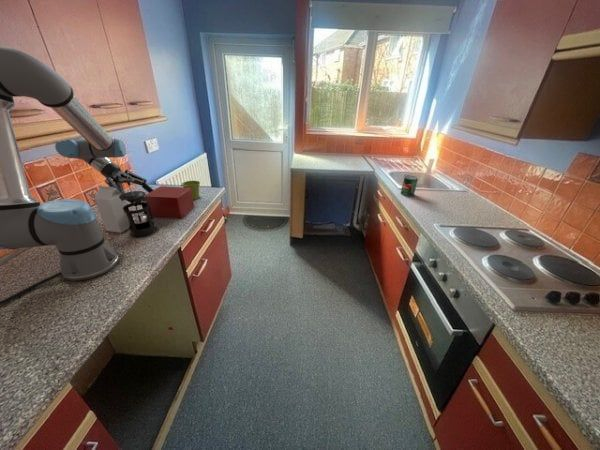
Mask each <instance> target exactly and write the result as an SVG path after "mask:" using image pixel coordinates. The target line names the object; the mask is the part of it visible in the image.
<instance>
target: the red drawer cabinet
mask: <svg viewBox="0 0 600 450" xmlns="http://www.w3.org/2000/svg"><path fill="white" fill-rule="evenodd" d="M156 188H157V189H156ZM156 188H155V189H153V191H152V192H150V193H148V192H147V193H148V194H147V193H146V194H147V195H145V198H146V199H145V201H148V203H149V207H150V210H151V214H152V218H164V219H179V220H180V219H181V220H182V219H183V218H184V217H185V216H187V214H188V213H190V212H191V211H192V210H193V209H194V208H195V204H194V200H193V197H192V192H191V188H185V187H183V186H165V185H161V186H158V187H156Z"/></svg>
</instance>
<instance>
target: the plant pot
mask: <svg viewBox="0 0 600 450" xmlns="http://www.w3.org/2000/svg"><path fill="white" fill-rule="evenodd" d="M200 184H201V181H200V180H187V181H186V180H185V181H183V182H182V183H181V186H182V187H185V188H191V192H192V197H193V201H194V200H197V199H199V198H200V186H201V185H200Z"/></svg>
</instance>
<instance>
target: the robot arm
mask: <svg viewBox="0 0 600 450" xmlns="http://www.w3.org/2000/svg"><path fill="white" fill-rule="evenodd" d="M14 97H19V98H21V97H26V98H31V99H34V100H36V101H38V102H39V103H40V104H41V105H42V106H45V107H46V108H50V109H52V110H53V112H55V113H56V115H58V116H59V117H60V118H61V119H62V120H64V121H65V122H66V123H67V124H68V126H70V127H71V128H72V129H73V130H74V131H76V133H77V134H79V135H80V137H81V138H78V137H75V138H76V139H74V138H70V140H66V141H61V142H57V141H56V142H55V145H54V147H55V151H56V152H57V153H58V155H60V156H61V157H63V158H67V159H76V160H83V162H85V163H86V164H87V165H89V166H90V167H92V168H93V169H95V170H96V171H97V172H99V173H100V175H102V176H103V177H104V178H105V180H104V183H105V184H106V185H108V187H114V188H115V189H116V191H118V192H121V193H123V194H124V193H126V192H125V189H124V185H123V184H124V183H122V181H123V180H126V179H134V181H133V182H130V184H131V183H132V184H135V185H138V186H140V187H141V188H142V189H144V190H145V192H147V193H150V192H151V191H153V190H154V189H153V188H152V187H151V186H150V185H149V184H147V181H148V180H147V179H146V178H144V177H142V176H140V175H138V174H136V173H133V172H132V171H131V170H128V169H125V171H123V170H122V169H121V167H120V166H119V165H118V164H117V163H115V162H114V161H113V160H112V159H116V158H124V157H125V156H126V155H127V147H126V145H125V143H124V140H122V139H120V138H112V136H111V135H109V133H108V132H107V131H106V130H105V129H104V128H103V127H102V125H101V124H100V123H99V122H98V121H97V119H95V118H94V116H93V115H92V114H91V113H90V112H89V111H88V109H86V107H85V106H84V105H83V104H82V103H81V102H80V100H79V99H78V98H77V97H76V96H75V91H74V89H73V87H72V86H71V85H70V84H69V82H68V81H66V79H64V78H63V77H62V76H61V74H59V73H58V72H57V71H55V70H54V69H53V68H51V67H50V66H49V65H47V64H45V63H44V62H43V61H41V60H39V59H38V58H36V57H34V56H33V55H30V54H28V53H26V52H24V51H22V50H19V49H16V48H13V47H9V46H3V45H0V250H18V249H19V250H20V249H25V248H37V247H48V246H55V247H56V249H57V251H58V253H59V257H60V260H59V261H60V264H59V265H60V272H58V273H56V274H53V275H51V276H49V277H46V278H44V279H42V280H40V281H38V282H35V283H34V284H31V285H30V286H28V287H26V288H24V289H22V290H20V291H19V292H17V293H14V294H12V295H11V296H9V297H6V298H4V299H2V300H0V306H1V305H4V304H6V303H7V302H9V301H12V300H14V299H16V298H17V297H19V296H21V295H23V294H25V293H26V292H29V291H31V290H32V289H35V288H37V287H38V286H41V285H43V284H45V283H47V282H49V281H51V280H53V279H55V278H58V277H60V276H62V277H63V279H64V280H66V281H71V282H79V281H80V282H82V281H86V280H87V281H88V280H91V279H95V278H97V277H100V276H102V275H104V274H106V273H108V272H110V271H111V270H113V269H114V268H115V267H116V266H117V265H118V263H119V262H120V257H119V255H118V254H119V253H118V252H117V251H116V250H115V249H114V248H113V247H112V246H110V245H109V243H108V242H107V241H106V240H105V237H104V234H103V232H102V230H101V229H102V228H101V227H100V224H99V222H98V219H97V215H96V213H95V212H94V210H93V208H92V206H91V205H90V204H89V203H88V202H87V201H84V200H82V199H76V198H59V199H55V200H54V199H53V200H49V201H45V202H42V203H40V200H39V199H37V198H35V197H33V196H32V195H31V192H30V187H29V184H28V180H27V177H26V173H25V172H26V171H25V169H24V165H23V161H22V158H21V157H22V156H21V153H20V150H19V146H18V142H17V138H16V135H15V131H14V127H13V123H12V119H11V115H10V111H11V110H13V109H14V108H15V107H16V104H15V100H14ZM110 158H111V159H110ZM126 202H127V203H128V202H129V204H131V203H134V202H132V201H129V200H126ZM136 206H137V207H138V205H136Z"/></svg>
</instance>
